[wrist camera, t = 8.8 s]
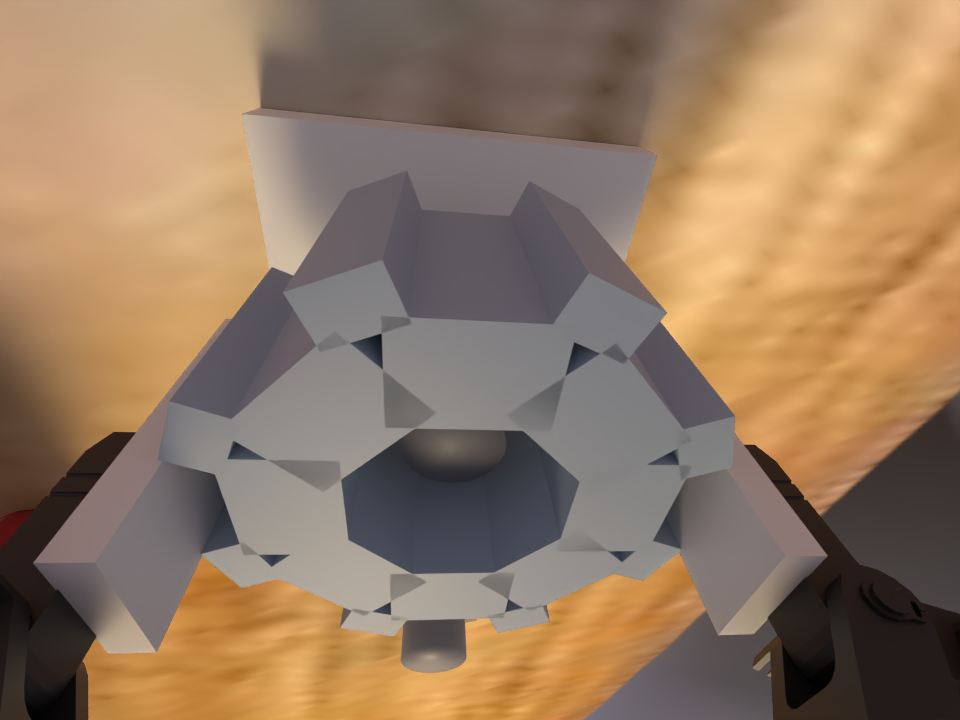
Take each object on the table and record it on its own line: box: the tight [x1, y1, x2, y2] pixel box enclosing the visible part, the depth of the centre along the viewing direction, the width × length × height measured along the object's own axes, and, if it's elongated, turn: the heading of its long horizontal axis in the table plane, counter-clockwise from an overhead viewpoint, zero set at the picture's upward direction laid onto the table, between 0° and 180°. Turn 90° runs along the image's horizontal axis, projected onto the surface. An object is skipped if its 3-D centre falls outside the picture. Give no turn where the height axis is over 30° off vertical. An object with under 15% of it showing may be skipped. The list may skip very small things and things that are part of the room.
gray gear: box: [158, 171, 735, 636], centre depth 11 cm, size 10×10×5 cm
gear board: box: [242, 108, 657, 673], centre depth 17 cm, size 12×22×8 cm, turn 174°
